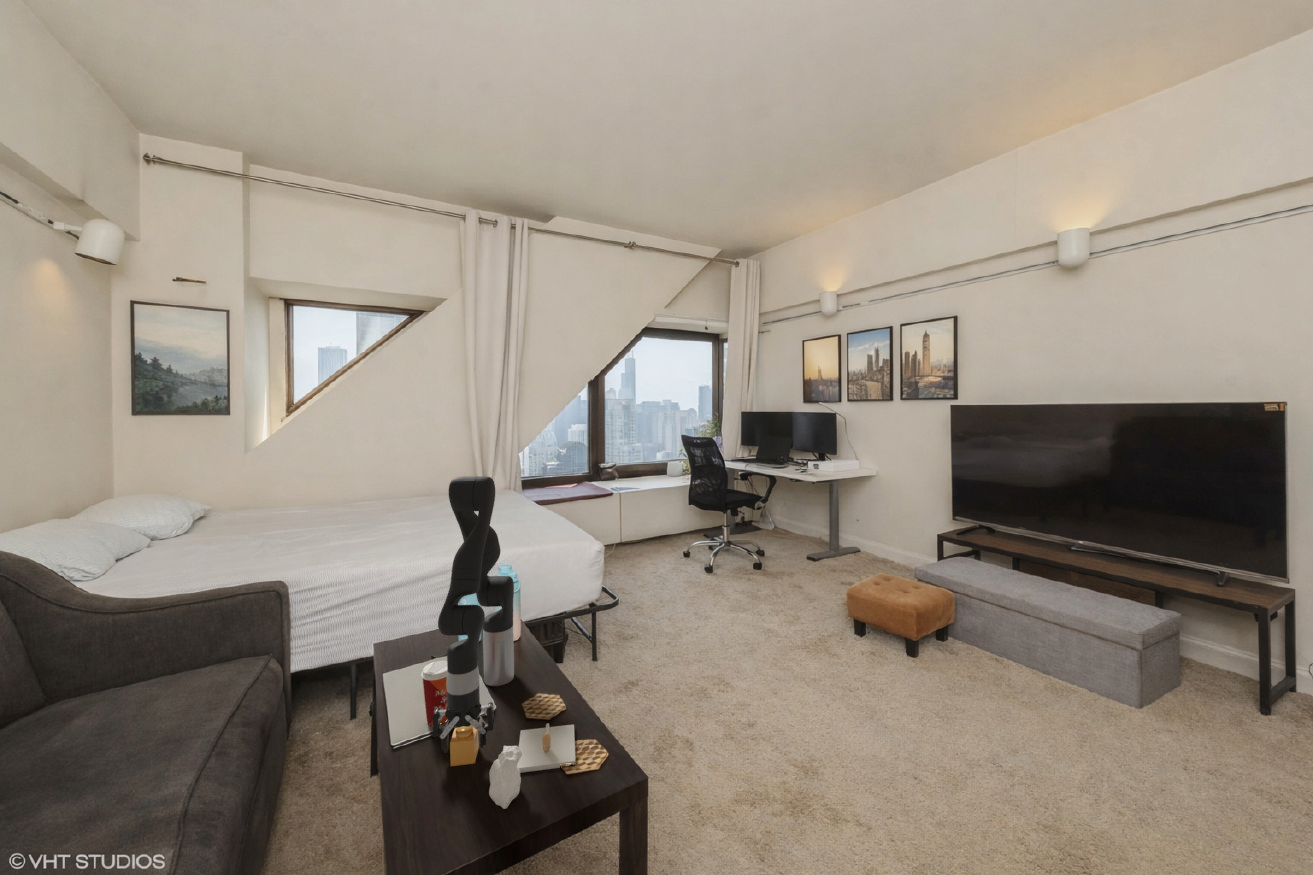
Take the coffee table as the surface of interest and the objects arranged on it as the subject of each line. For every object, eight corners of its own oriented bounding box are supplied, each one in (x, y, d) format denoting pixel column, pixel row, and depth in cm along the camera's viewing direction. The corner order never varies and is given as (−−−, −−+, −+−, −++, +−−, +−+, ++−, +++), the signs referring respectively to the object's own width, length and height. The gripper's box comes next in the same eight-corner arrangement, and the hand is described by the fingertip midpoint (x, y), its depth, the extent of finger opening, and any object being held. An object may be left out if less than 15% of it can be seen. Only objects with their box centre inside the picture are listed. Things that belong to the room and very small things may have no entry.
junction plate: (521, 733, 133) (520, 712, 133) (574, 726, 136) (573, 707, 135) (516, 773, 119) (515, 750, 118) (575, 765, 121) (575, 743, 121)
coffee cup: (442, 730, 134) (441, 676, 133) (415, 726, 136) (414, 673, 135) (461, 711, 142) (459, 660, 141) (435, 707, 144) (433, 657, 143)
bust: (515, 820, 108) (545, 768, 111) (487, 813, 104) (518, 759, 108) (498, 785, 118) (525, 738, 121) (471, 778, 114) (500, 729, 117)
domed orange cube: (455, 750, 127) (454, 723, 126) (478, 747, 128) (478, 720, 127) (450, 766, 121) (449, 737, 120) (474, 763, 122) (474, 735, 122)
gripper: (495, 674, 128) (496, 734, 129) (436, 679, 125) (437, 741, 126) (491, 690, 120) (492, 754, 121) (428, 696, 118) (429, 762, 119)
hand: (464, 748), depth 124 cm, fingers open, 8 cm apart
